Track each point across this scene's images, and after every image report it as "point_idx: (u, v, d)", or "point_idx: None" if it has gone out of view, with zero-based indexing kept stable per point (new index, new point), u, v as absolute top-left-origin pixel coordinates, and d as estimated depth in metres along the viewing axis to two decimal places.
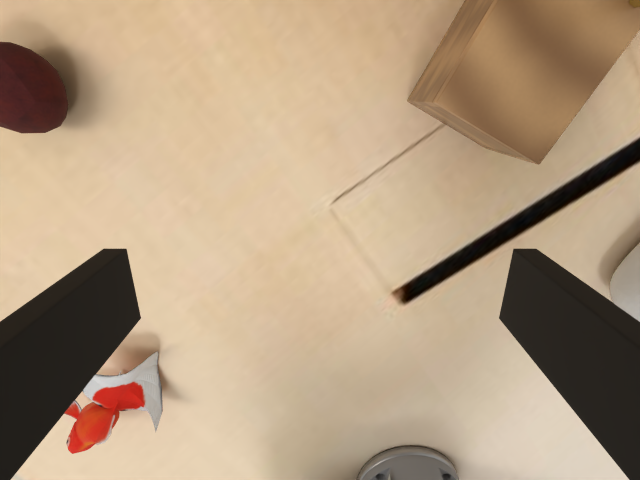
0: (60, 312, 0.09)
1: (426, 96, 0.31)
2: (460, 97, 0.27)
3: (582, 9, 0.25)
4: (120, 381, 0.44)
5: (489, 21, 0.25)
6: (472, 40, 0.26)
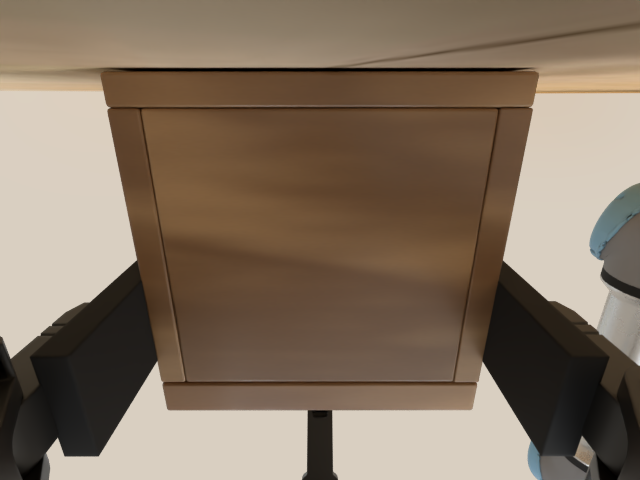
0: (142, 290, 0.10)
1: None
2: None
3: None
4: None
5: None
6: None
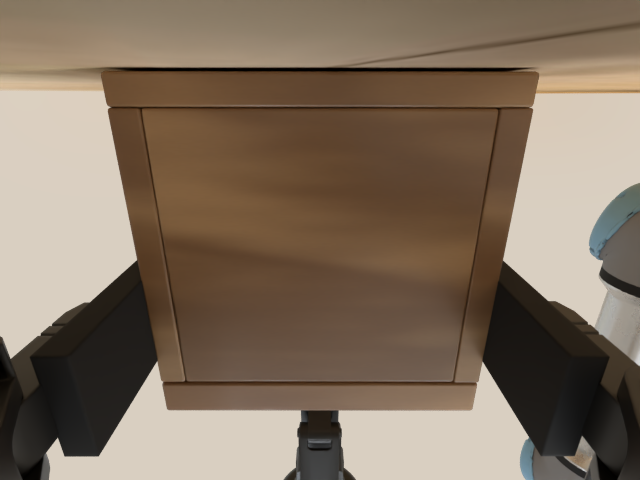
0: (142, 291, 0.10)
1: None
2: None
3: None
4: None
5: None
6: None
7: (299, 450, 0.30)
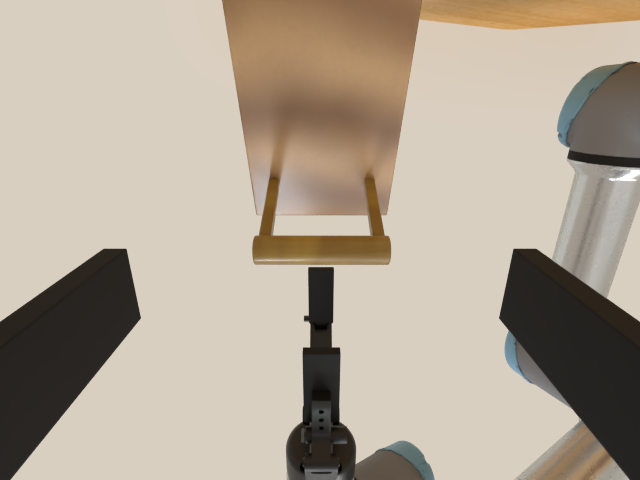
0: (60, 312, 0.09)
1: None
2: (393, 5, 0.18)
3: (313, 156, 0.24)
4: None
5: (400, 103, 0.22)
6: (408, 76, 0.21)
7: None
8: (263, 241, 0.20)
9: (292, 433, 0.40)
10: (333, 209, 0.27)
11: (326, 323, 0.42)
